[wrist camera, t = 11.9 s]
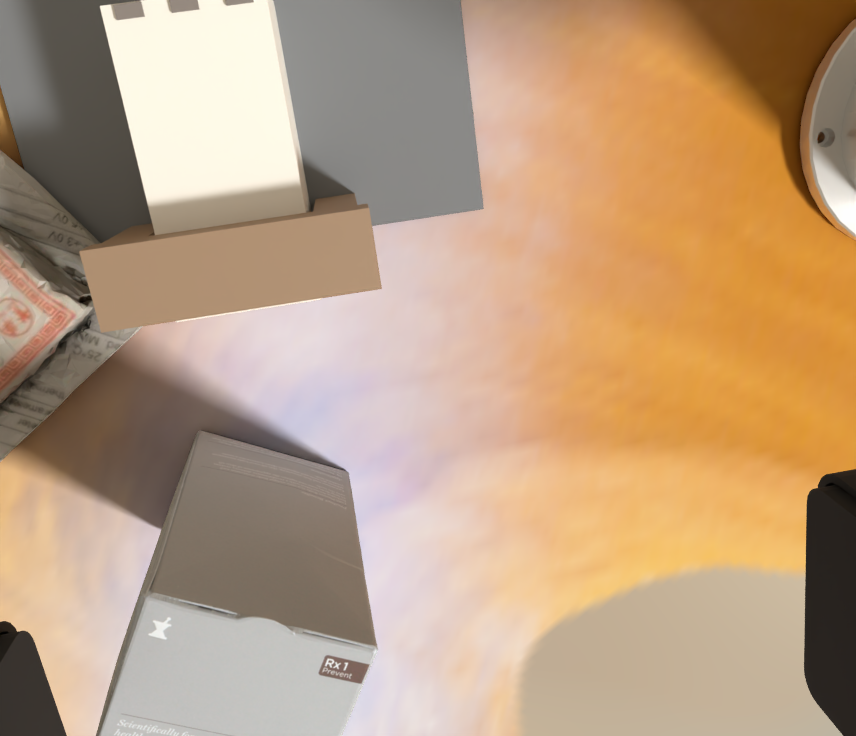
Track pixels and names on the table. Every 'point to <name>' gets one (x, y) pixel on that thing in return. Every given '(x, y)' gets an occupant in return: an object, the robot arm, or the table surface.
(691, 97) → the table surface
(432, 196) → the mat
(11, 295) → the packaged product
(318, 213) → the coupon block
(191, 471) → the skincare box
